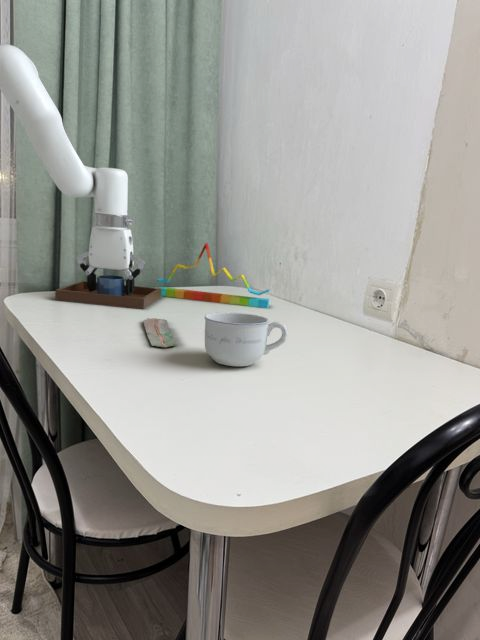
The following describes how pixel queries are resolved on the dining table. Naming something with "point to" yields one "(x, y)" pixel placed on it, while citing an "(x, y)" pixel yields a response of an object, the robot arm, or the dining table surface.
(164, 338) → the map
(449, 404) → the dining table surface
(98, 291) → the blue short cylinder
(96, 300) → the tray
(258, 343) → the teacup
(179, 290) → the chart
